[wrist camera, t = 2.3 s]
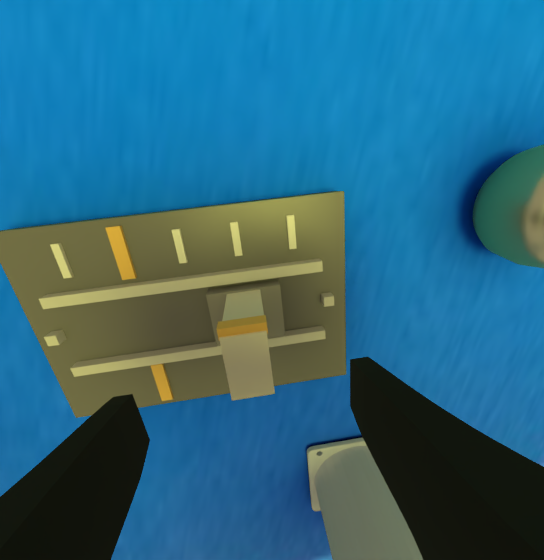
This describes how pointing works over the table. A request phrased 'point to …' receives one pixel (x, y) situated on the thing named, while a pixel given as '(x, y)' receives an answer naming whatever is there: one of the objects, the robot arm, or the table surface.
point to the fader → (247, 333)
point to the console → (179, 295)
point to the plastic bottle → (514, 209)
